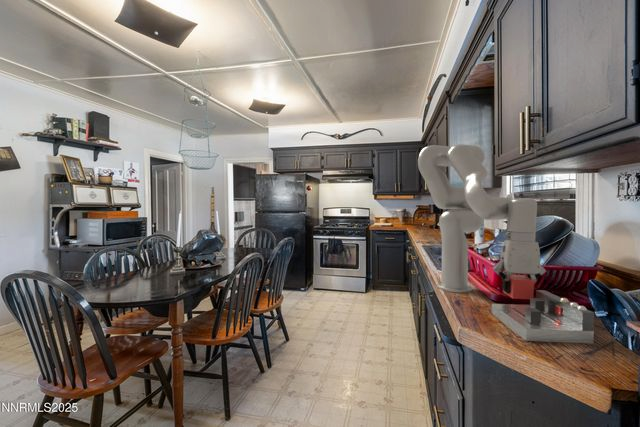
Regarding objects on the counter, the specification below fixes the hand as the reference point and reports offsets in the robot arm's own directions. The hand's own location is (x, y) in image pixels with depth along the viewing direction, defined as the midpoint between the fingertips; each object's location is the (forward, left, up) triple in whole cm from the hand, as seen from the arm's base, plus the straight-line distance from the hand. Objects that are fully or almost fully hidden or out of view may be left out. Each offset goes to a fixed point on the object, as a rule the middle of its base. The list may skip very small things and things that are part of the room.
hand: (517, 292), depth 94 cm
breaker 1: (+11, 0, -2) cm, 11 cm away
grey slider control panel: (+15, -3, -5) cm, 16 cm away
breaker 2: (+19, -6, -2) cm, 21 cm away
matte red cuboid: (0, 0, -1) cm, 1 cm away
